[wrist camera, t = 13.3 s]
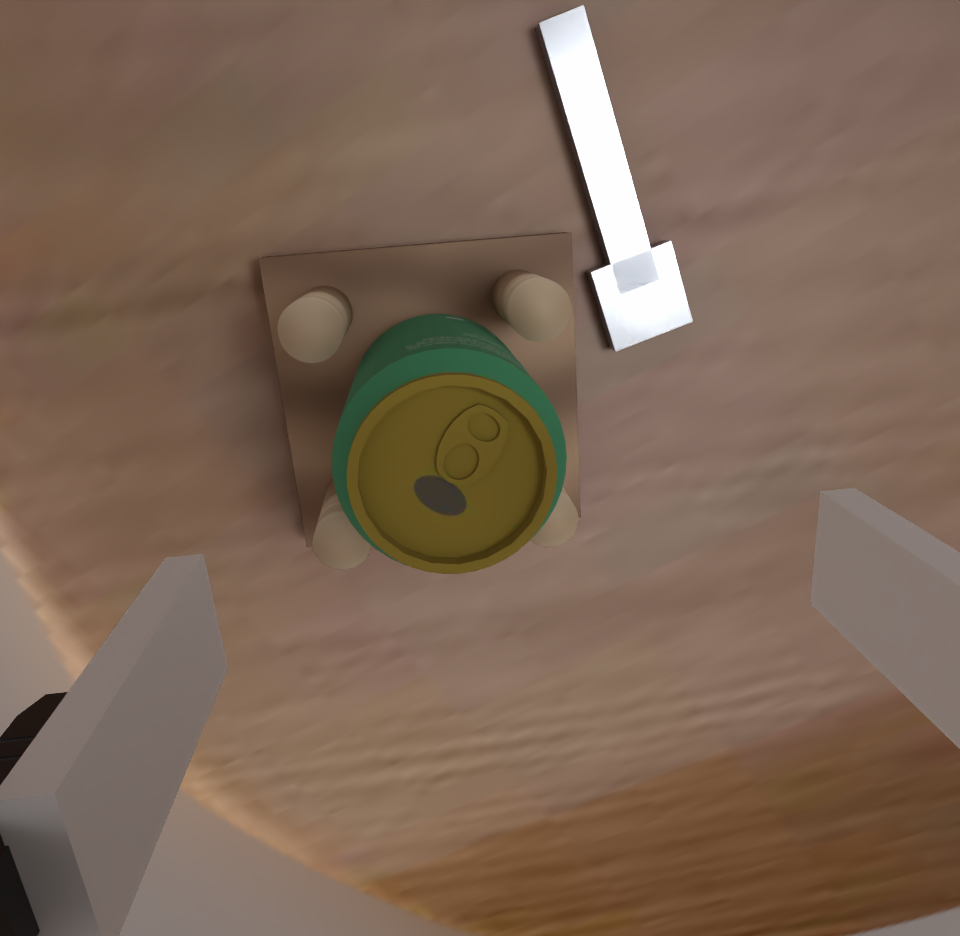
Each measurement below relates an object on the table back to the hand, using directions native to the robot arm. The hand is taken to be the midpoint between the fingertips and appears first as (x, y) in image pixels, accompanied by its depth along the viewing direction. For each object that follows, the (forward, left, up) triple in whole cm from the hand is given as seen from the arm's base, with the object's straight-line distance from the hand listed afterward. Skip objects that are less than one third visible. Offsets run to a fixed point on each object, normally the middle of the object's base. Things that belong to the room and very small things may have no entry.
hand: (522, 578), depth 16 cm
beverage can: (+1, -1, -21) cm, 21 cm away
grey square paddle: (-8, +8, -22) cm, 25 cm away
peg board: (+1, -1, -22) cm, 22 cm away
